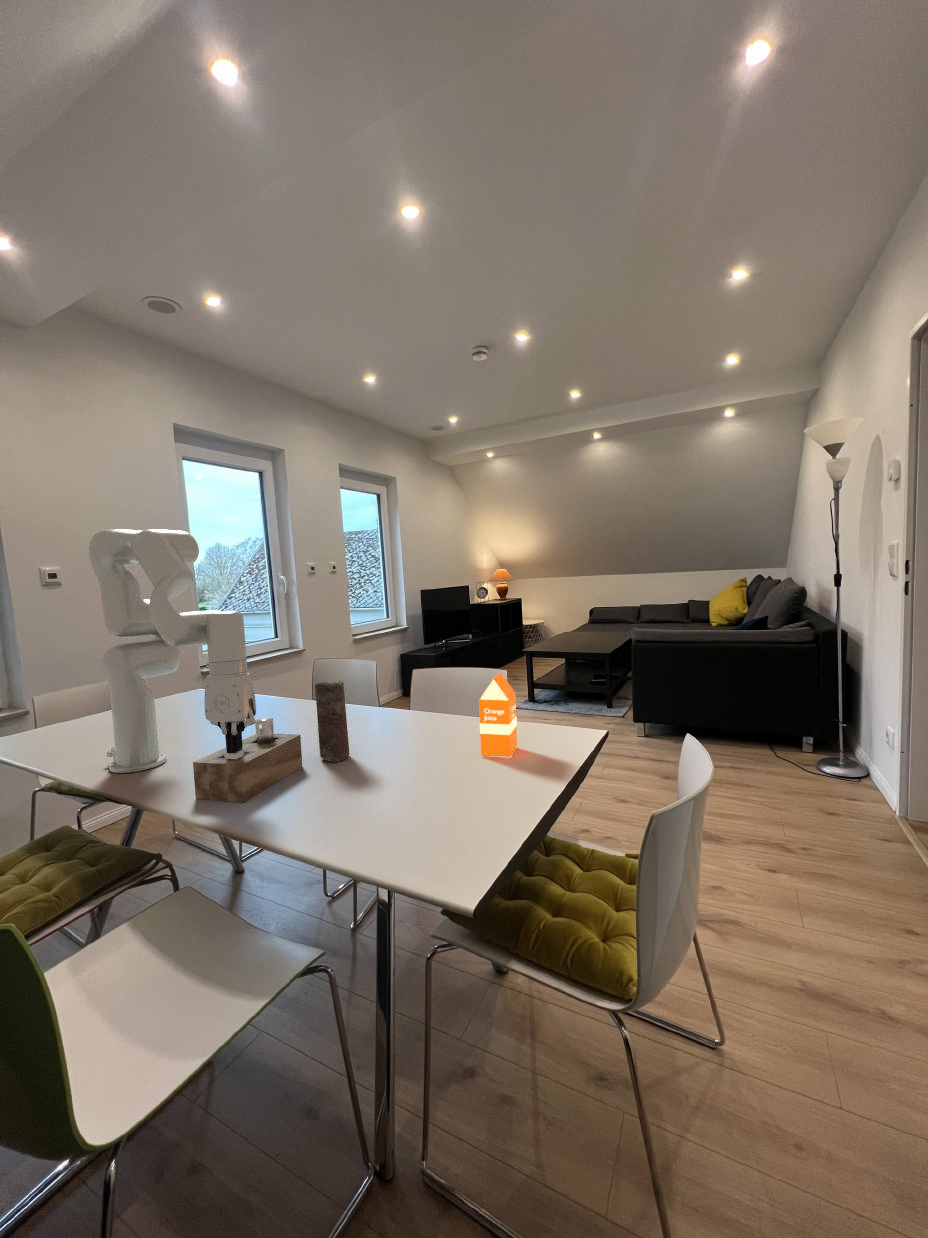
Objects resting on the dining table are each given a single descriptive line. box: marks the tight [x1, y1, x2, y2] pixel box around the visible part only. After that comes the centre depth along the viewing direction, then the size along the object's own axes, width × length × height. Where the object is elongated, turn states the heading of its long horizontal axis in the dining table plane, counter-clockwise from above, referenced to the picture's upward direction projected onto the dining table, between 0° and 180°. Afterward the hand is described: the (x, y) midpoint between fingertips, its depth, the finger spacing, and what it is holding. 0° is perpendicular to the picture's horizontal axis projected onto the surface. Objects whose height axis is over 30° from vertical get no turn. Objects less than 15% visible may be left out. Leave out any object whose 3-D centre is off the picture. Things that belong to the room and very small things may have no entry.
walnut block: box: [192, 733, 303, 804], centre depth 123 cm, size 12×22×8 cm, turn 165°
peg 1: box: [224, 749, 244, 759], centre depth 118 cm, size 4×4×7 cm
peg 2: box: [254, 717, 275, 744], centre depth 128 cm, size 4×4×7 cm
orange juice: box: [478, 672, 518, 757], centre depth 137 cm, size 8×9×20 cm
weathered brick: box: [314, 680, 350, 763], centre depth 137 cm, size 8×7×20 cm
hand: (234, 751), depth 117 cm, fingers closed
